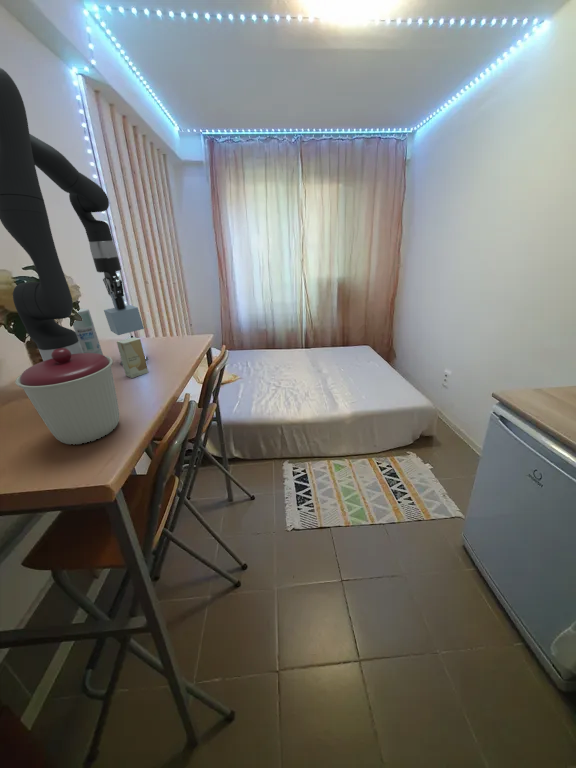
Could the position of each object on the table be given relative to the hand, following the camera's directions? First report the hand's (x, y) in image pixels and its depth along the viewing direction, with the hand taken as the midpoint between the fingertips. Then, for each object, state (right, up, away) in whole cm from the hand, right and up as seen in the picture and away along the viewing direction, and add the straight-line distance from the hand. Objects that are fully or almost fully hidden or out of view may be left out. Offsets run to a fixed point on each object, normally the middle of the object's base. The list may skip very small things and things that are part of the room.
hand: (119, 308), depth 112 cm
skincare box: (+8, -24, -4) cm, 26 cm away
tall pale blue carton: (-14, -19, +10) cm, 26 cm away
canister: (+12, -39, -36) cm, 55 cm away
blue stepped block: (+1, -7, +4) cm, 8 cm away
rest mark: (+1, -18, +9) cm, 20 cm away
